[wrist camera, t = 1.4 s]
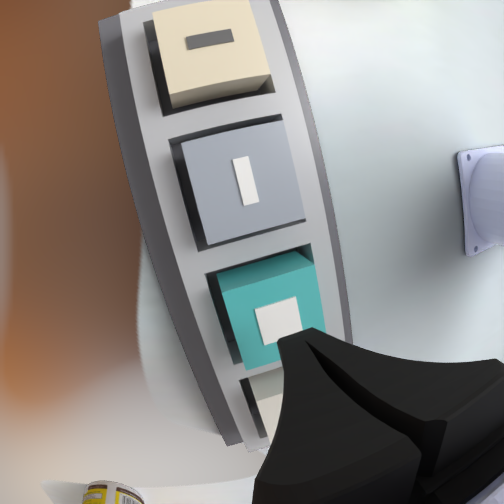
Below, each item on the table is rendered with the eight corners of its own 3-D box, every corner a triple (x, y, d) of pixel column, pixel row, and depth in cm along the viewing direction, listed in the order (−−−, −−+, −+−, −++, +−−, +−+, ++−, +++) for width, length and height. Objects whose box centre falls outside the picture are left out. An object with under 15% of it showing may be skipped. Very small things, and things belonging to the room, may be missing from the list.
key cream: (314, 350, 17) (332, 376, 15) (322, 399, 18) (339, 425, 16) (246, 372, 17) (256, 402, 14) (262, 420, 18) (272, 449, 15)
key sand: (237, 21, 13) (247, -6, 10) (257, 90, 14) (271, 72, 11) (157, 36, 12) (151, 11, 9) (172, 108, 13) (169, 93, 10)
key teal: (295, 250, 16) (315, 265, 13) (308, 320, 17) (328, 344, 14) (216, 273, 15) (221, 293, 13) (237, 343, 16) (246, 372, 14)
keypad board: (270, -9, 14) (284, -35, 11) (353, 396, 21) (372, 420, 18) (100, 25, 13) (87, 1, 10) (225, 440, 20) (231, 470, 17)
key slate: (267, 129, 14) (283, 119, 12) (286, 211, 15) (306, 218, 13) (182, 149, 14) (181, 142, 11) (204, 233, 15) (208, 245, 12)
